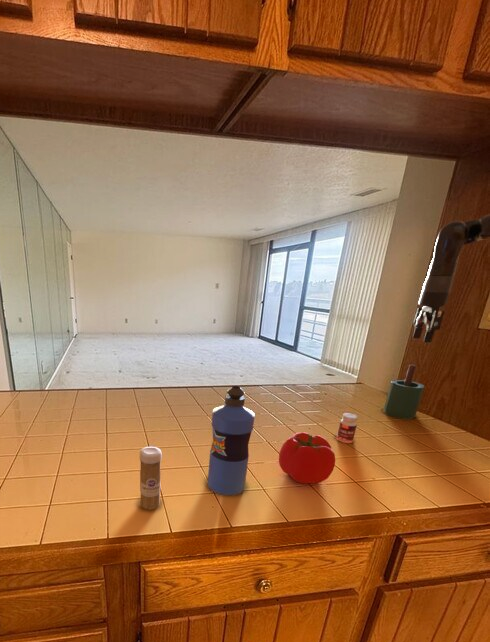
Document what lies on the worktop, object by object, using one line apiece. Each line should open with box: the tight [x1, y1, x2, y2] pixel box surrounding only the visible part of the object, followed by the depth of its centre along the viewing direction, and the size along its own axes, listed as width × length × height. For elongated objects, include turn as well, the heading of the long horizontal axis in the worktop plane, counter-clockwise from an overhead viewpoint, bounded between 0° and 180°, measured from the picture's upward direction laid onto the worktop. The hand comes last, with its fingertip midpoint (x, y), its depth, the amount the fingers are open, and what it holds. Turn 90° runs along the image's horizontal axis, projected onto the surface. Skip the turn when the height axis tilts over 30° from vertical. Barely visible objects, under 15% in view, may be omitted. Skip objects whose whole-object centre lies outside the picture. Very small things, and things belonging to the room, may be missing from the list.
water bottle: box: [207, 385, 256, 496], centre depth 80 cm, size 9×9×25 cm
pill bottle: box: [336, 412, 359, 444], centre depth 108 cm, size 5×5×8 cm
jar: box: [382, 379, 426, 420], centre depth 129 cm, size 10×10×12 cm
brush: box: [404, 364, 418, 387], centre depth 127 cm, size 4×4×18 cm
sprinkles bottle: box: [139, 446, 162, 511], centre depth 74 cm, size 5×5×14 cm
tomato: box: [278, 431, 336, 485], centre depth 87 cm, size 14×13×10 cm
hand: (421, 340), depth 120 cm, fingers open, 8 cm apart
